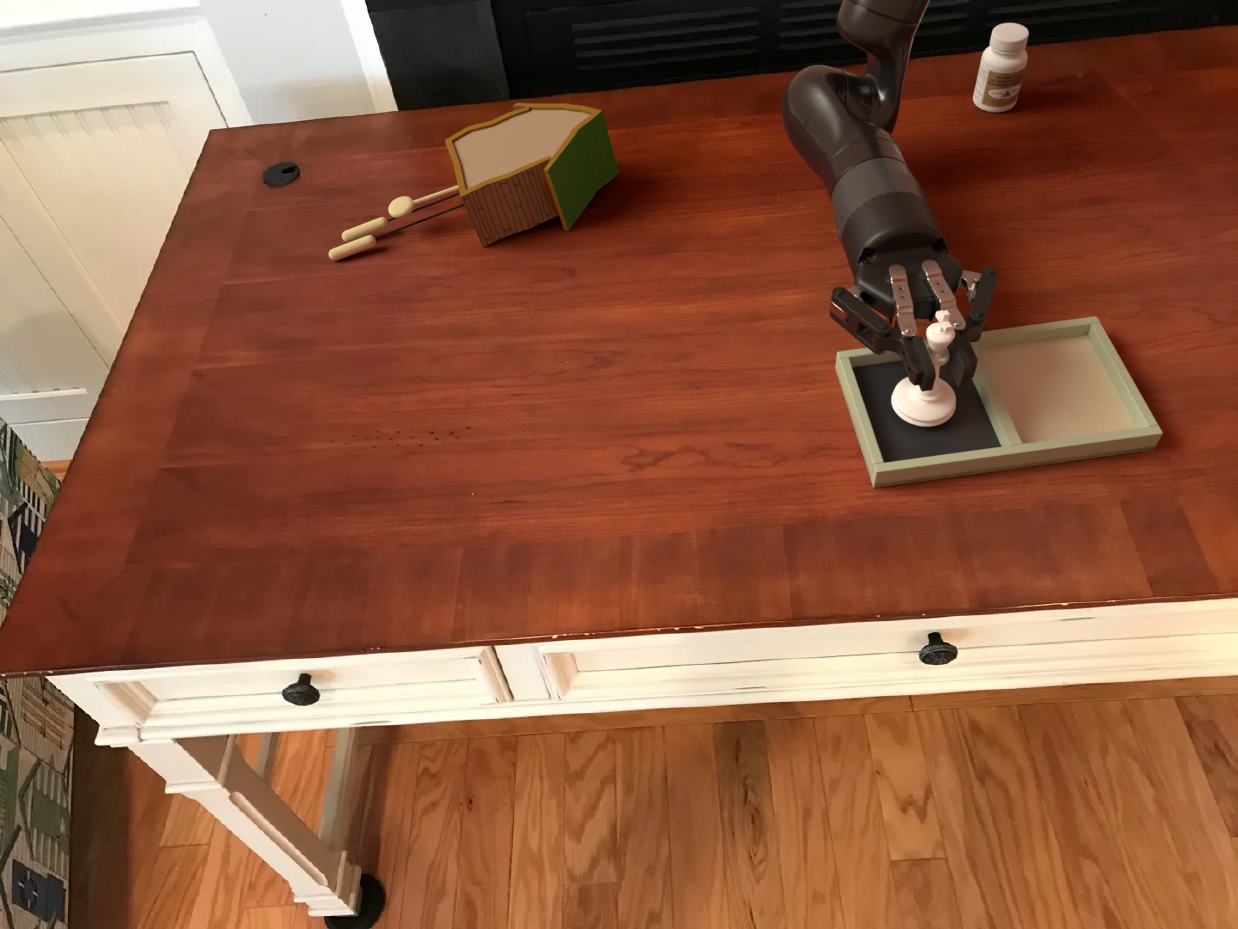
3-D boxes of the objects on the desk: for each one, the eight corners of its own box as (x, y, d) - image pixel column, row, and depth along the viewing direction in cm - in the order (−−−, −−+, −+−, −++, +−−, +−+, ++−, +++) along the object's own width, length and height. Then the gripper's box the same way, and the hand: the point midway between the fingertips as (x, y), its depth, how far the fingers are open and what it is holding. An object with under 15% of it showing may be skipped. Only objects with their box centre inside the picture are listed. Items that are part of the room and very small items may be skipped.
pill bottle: (984, 117, 101) (1000, 47, 95) (964, 94, 104) (979, 25, 98) (1023, 108, 102) (1042, 37, 96) (1003, 85, 104) (1020, 15, 98)
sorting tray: (1089, 333, 83) (1096, 315, 81) (1153, 450, 75) (1163, 433, 73) (834, 368, 83) (836, 351, 81) (873, 488, 75) (876, 472, 74)
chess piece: (939, 373, 80) (963, 282, 71) (966, 418, 77) (993, 328, 69) (881, 387, 79) (899, 297, 71) (905, 433, 76) (926, 344, 68)
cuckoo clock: (352, 315, 97) (635, 207, 97) (315, 260, 91) (618, 144, 90) (337, 238, 104) (602, 137, 104) (302, 182, 97) (584, 74, 97)
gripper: (805, 201, 79) (859, 359, 68) (977, 177, 79) (1056, 332, 68) (800, 271, 85) (848, 426, 74) (959, 249, 85) (1030, 401, 74)
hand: (947, 380), depth 71 cm, fingers closed on chess piece
